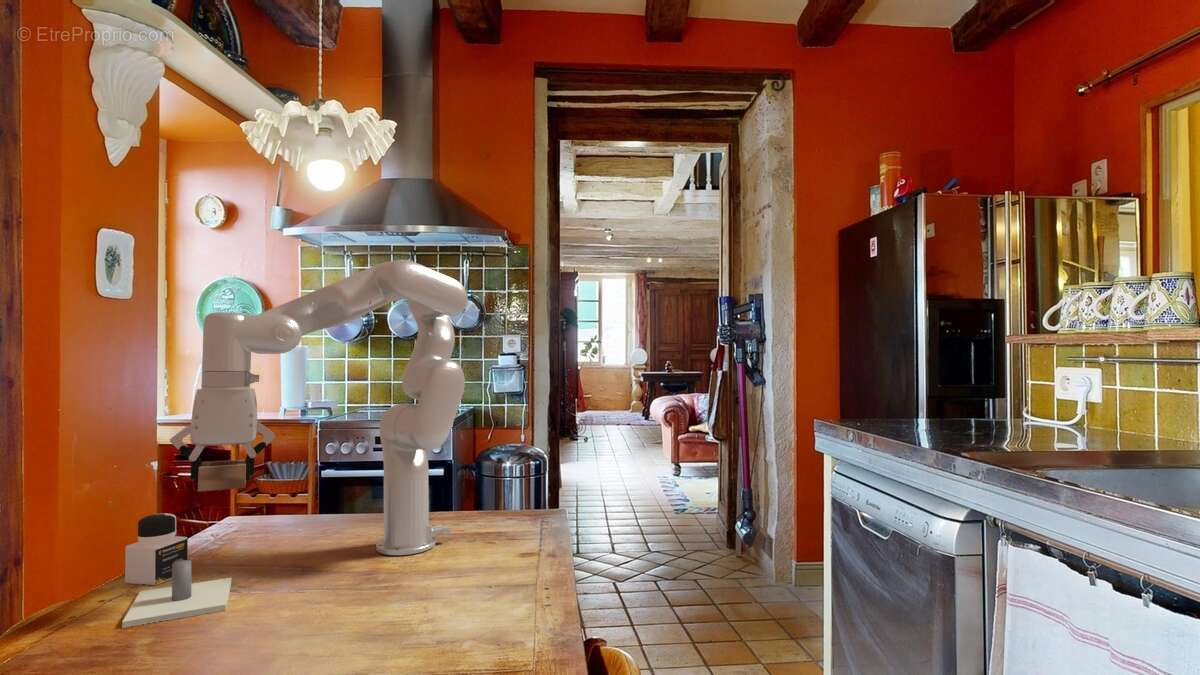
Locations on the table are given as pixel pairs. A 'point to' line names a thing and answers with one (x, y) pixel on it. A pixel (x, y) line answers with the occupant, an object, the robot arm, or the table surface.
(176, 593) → the post stand
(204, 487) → the walnut ring
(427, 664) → the table surface
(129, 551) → the medicine bottle
